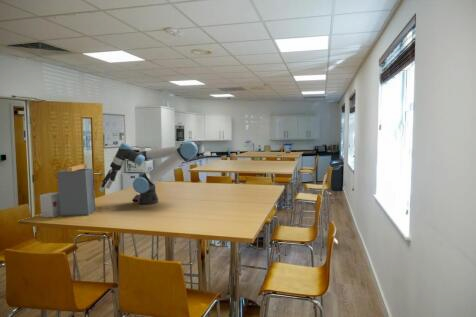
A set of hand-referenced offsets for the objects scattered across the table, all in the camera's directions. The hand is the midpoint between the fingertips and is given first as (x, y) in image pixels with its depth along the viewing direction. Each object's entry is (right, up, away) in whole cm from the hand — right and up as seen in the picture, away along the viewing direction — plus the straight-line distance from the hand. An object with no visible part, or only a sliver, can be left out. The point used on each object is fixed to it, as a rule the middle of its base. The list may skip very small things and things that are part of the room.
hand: (104, 189), depth 237 cm
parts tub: (-12, -15, -12) cm, 23 cm away
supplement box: (-29, -16, -15) cm, 37 cm away
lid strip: (-14, +15, -11) cm, 23 cm away
